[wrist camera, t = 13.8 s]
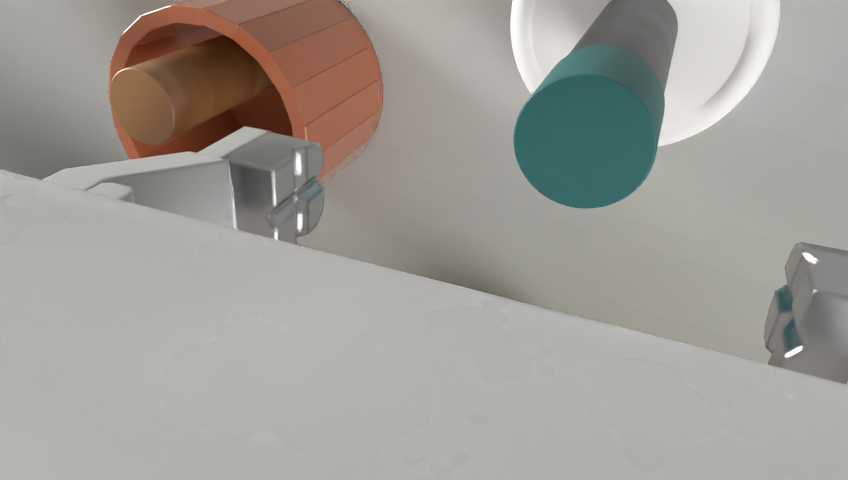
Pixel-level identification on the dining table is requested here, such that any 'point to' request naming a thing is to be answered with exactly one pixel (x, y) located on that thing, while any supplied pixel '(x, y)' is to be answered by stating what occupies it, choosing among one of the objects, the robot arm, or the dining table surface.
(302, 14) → the pen pot
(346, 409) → the robot arm
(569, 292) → the dining table surface
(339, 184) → the dining table surface
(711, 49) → the coaster
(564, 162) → the marker
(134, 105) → the stick
